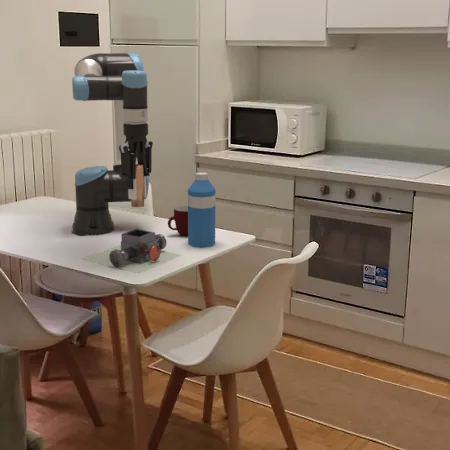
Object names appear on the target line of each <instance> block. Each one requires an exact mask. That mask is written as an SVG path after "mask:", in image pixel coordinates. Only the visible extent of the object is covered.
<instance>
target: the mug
mask: <svg viewBox="0 0 450 450" xmlns="http://www.w3.org/2000/svg"><path fill="white" fill-rule="evenodd" d="M172 221H174V223H175V227H172ZM167 226H168V229H170V230H172V231H177V233H178V235H179V237H184V238H188V205H180V206H175V207H174V208H173V215H172V216H171V217H169V219H168V221H167Z"/></svg>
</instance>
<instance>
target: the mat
mask: <svg viewBox="0 0 450 450" xmlns="http://www.w3.org/2000/svg"><path fill="white" fill-rule="evenodd" d="M113 250H120V251H121V244H119V245H116V246H113V247H111V248H108V249H106V250H102V251H99V252H97V253H94V254H91V255H89V256H86V257H85V256H84V257H83V258H81V259H80V260H82V261H85V262H90V263H93V264H98V265H102V266H107V267H110V268H111V267H112V268H115V269H118V270H123V271H126V272H127V271H128V272H131V273H135V274H141V273H144V272H145V271H148V270H151V269H153V268H155V267H157V266H159V265H162V264H164V263H166V262H169V261H172V260H174V259H176V258H178V257H181V256H182V254H179V253H174V252H171V251H170V252H169V251H165V250H163V249H162V250H160V251H161V252H160V257H159V258H158V260H157V261H151V260H150V261H147V262H145V263H142V264H138V263H133V262H129V261H124V263H123V265H121V266H119V267H116V266H114V265H112V263H111V262H110V259H109V255H110V252H111V251H113Z"/></svg>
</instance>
